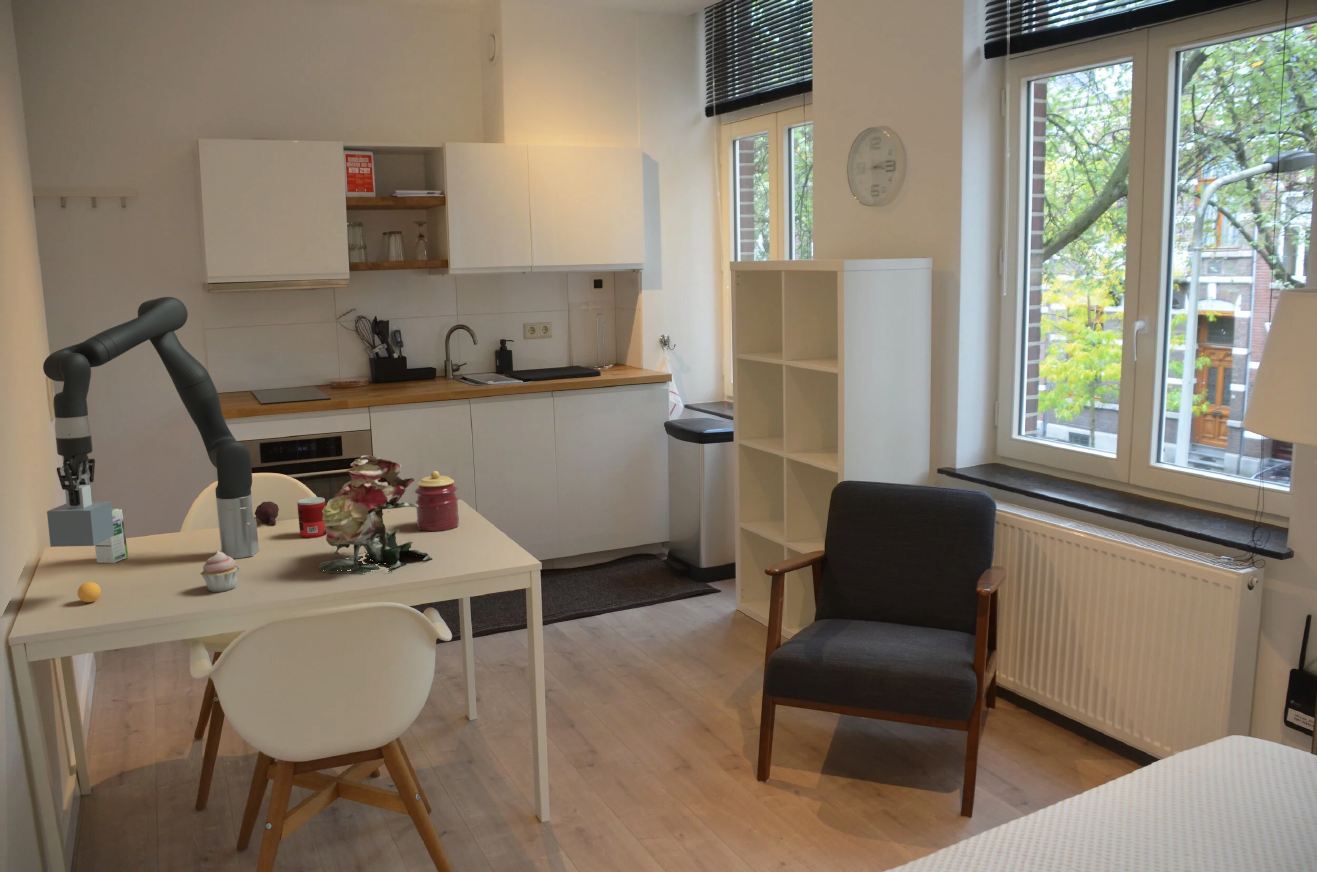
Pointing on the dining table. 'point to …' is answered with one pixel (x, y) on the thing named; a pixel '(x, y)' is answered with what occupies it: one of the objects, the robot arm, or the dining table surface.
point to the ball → (89, 592)
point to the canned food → (311, 517)
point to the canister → (437, 503)
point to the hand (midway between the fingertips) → (79, 503)
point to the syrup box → (113, 542)
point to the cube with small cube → (80, 521)
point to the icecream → (267, 512)
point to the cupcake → (220, 573)
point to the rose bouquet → (366, 517)
